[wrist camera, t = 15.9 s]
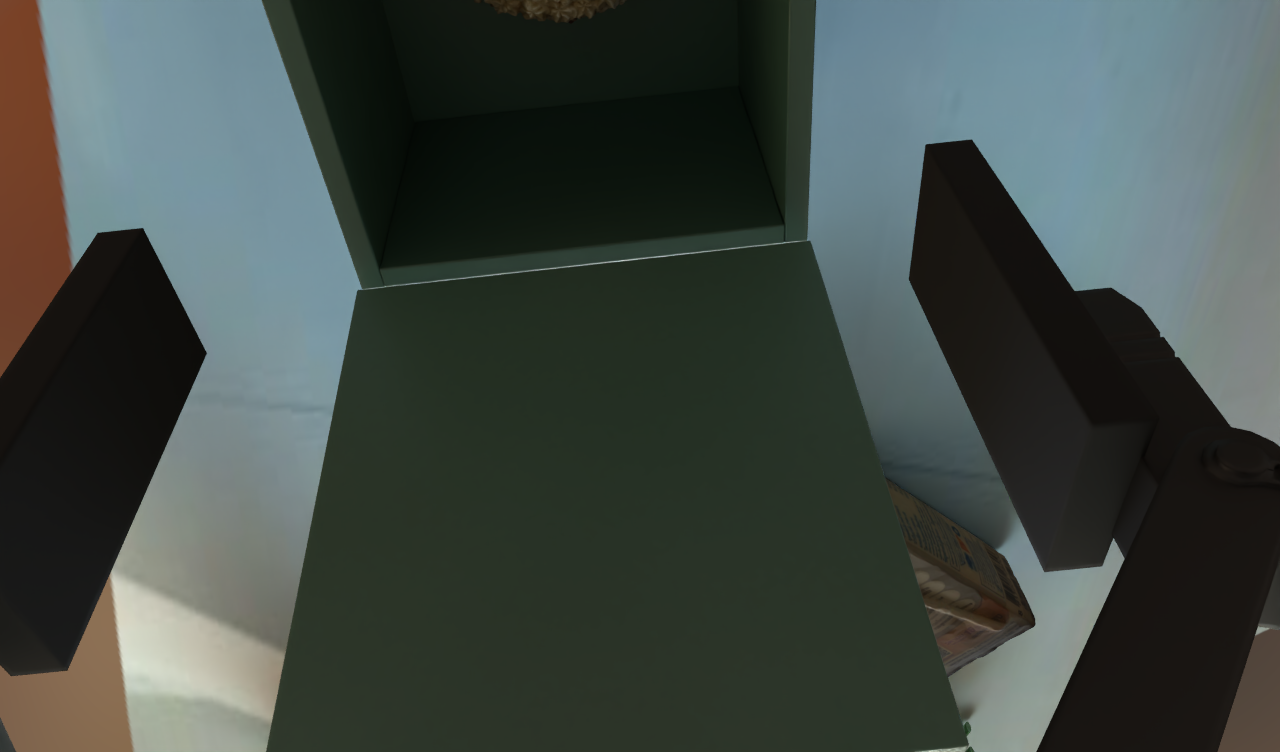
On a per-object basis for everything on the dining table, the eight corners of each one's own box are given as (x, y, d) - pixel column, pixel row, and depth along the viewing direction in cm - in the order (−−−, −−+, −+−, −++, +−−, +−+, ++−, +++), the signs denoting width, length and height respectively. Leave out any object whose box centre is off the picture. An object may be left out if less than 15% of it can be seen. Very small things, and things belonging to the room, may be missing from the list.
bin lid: (251, 821, 21) (264, 833, 21) (970, 745, 20) (963, 759, 21) (356, 289, 32) (363, 306, 33) (810, 239, 32) (809, 257, 33)
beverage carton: (827, 429, 56) (853, 515, 51) (1010, 550, 65) (1048, 632, 60) (732, 501, 60) (748, 588, 55) (918, 605, 69) (947, 688, 64)
